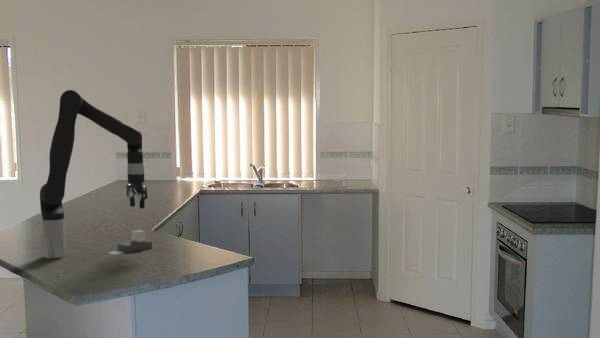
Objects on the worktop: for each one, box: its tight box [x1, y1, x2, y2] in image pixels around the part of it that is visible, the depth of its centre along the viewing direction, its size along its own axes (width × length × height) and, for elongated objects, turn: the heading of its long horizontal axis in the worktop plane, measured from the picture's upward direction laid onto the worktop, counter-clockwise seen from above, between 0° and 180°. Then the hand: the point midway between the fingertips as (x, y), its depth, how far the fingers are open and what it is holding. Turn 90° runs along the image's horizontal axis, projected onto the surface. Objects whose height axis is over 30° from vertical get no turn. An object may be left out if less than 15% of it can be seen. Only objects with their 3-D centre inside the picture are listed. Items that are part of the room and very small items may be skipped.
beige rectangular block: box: [131, 229, 147, 244], centre depth 304 cm, size 4×4×8 cm
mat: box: [106, 249, 127, 256], centre depth 296 cm, size 6×6×1 cm
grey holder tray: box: [117, 239, 153, 253], centre depth 303 cm, size 13×8×4 cm, turn 134°
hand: (137, 207), depth 303 cm, fingers open, 8 cm apart
